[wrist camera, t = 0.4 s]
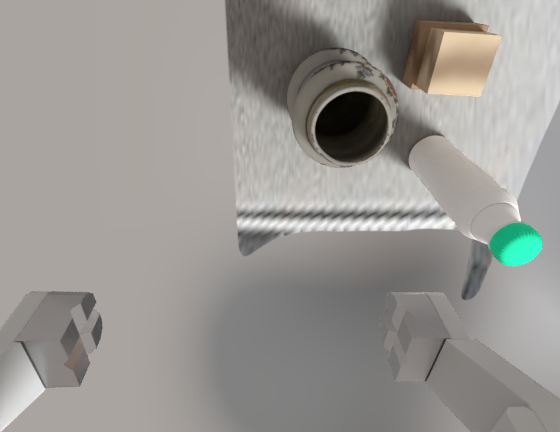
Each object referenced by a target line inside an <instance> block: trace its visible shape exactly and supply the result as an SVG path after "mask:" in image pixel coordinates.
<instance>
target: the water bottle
mask: <svg viewBox="0 0 560 432" xmlns="http://www.w3.org/2000/svg"><path fill="white" fill-rule="evenodd" d="M409 166H410V168H411V170H412V171H413V172H414V174H415V175H416V176H417V177H418V178H419V179H420V180H421V182H422V183H423V185H424V186H425V187H426V188H427V189H428V190H430V192H431V194H432V195H433V197H434V198H435V200H436V201H437V202H438V204H439V205H440V206H441V207H442V209H443V210H444V211H445V212H446V213H447V215H448V216H449V217H450V218H451V219H452V220H453V221H454V222H455V224H456V226H457V228H458V229H459V230H460V231H461V232H462V233H463V234H464V235H465V236H467V237H469V238H472V239H475V240H478V241H480V242H482V243H486V244H488V247H489V249H490V251H491V253H492V254H493V255H494V257H495V258H496V259H497V260H498V261H499V262H501V263H502V264H504V265H508V266H519V265H523V264H526V263H527V262H530V260H532V259H533V258H535V256H537V255H538V253H539V252H540V250H541V248H542V239H541V237H540V235H539V234H538V233H537V232H536V231H535V230H534V229H533V228H532V227H531V226H529V225H527V224H526V223H524V222H521V221H520V220H521V219H520V215H519V211H518V205H517V202H516V200H515V198H514V196H513V195H512V194H511V193H510V192H509V191H507V190H506V189H504V188H501V186H500V185H499V184H498V183H497V182H496V181H495V180H494V179H493V178H492V177H491V176H490V175H489V174H487V173H486V172H485V171H484V170H483V169H482V168H480V167H479V166H478V165H477V164H475V163H474V162H472V161H471V160H469V159H468V157H467V156H466V155H465V154H464V153H463V152H462V151H461V150H459V149H458V148H456V147H455V146H454V144H453V143H452V142H450V141H449V140H448V139H447V138H445V137H442V136H437V135H434V136H429V137H426V138H424V139H422V140H420V141H419V142H418V143H417V144H416V145H415V146H414V147H413V149H412V150H411V152H410V155H409Z"/></svg>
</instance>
